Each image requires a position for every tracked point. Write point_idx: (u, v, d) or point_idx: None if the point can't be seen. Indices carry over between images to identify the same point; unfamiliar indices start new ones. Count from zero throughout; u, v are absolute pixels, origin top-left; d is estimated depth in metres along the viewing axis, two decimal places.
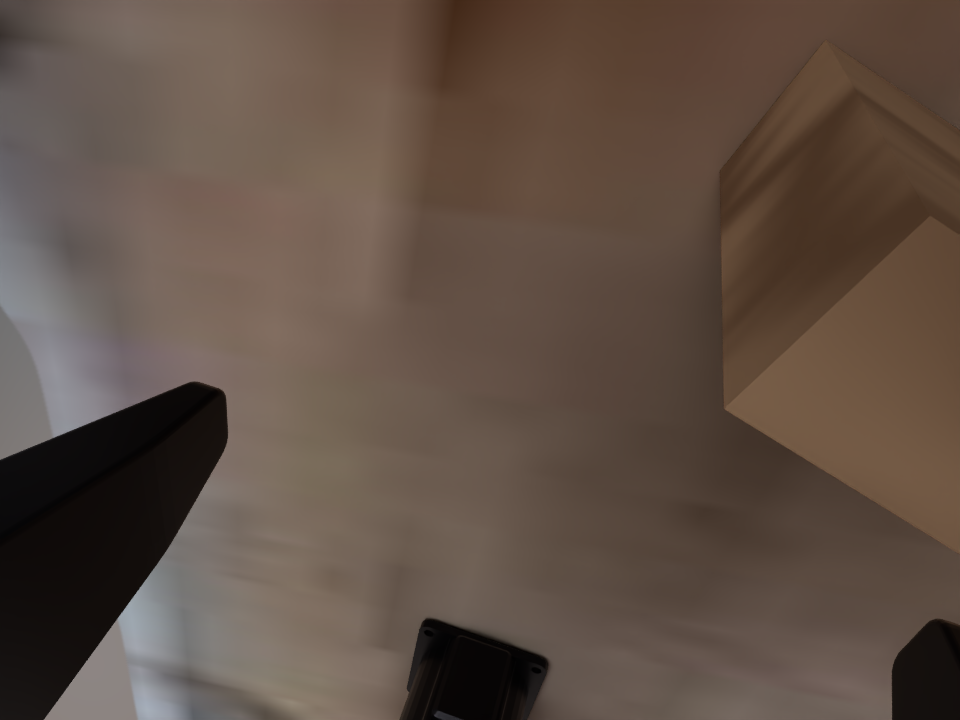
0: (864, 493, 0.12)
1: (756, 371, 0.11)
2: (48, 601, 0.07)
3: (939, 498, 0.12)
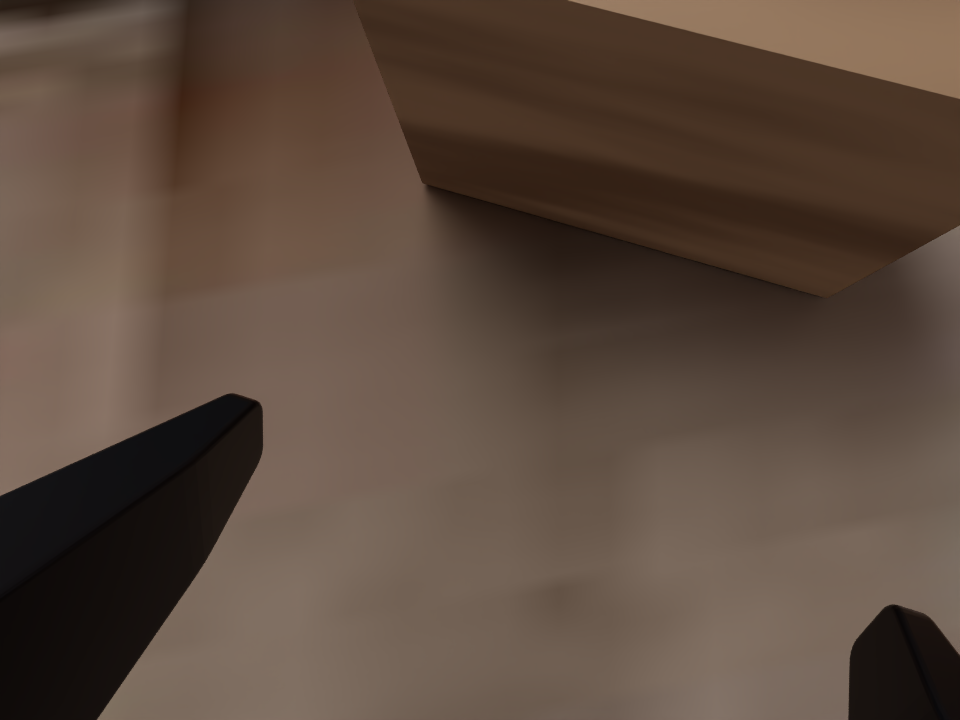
0: None
1: None
2: (94, 618, 0.07)
3: None
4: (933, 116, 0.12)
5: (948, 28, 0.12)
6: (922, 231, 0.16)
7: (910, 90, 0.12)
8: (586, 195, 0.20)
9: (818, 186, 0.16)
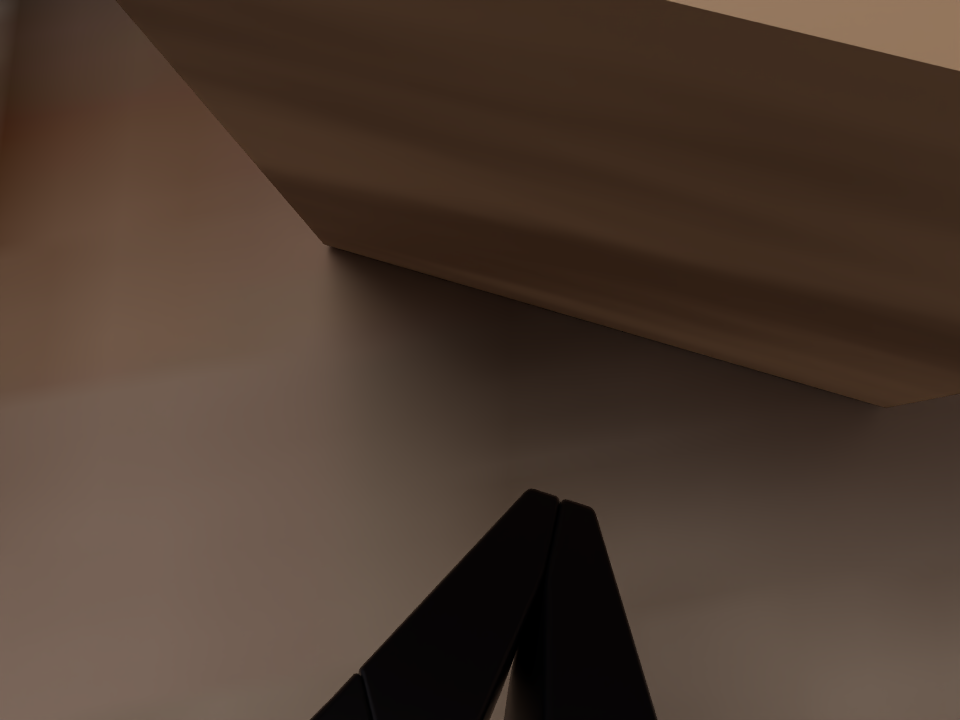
0: None
1: None
2: None
3: None
4: None
5: None
6: None
7: None
8: (541, 272, 0.14)
9: (914, 286, 0.09)
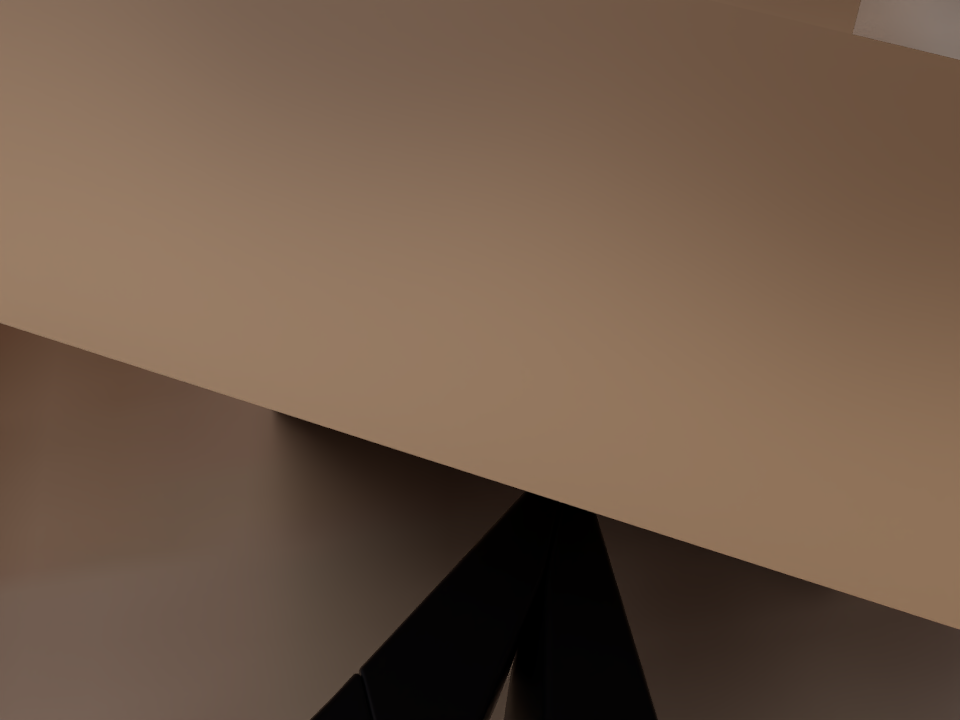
0: (105, 353, 0.05)
1: None
2: None
3: (240, 302, 0.05)
4: None
5: None
6: None
7: None
8: None
9: None
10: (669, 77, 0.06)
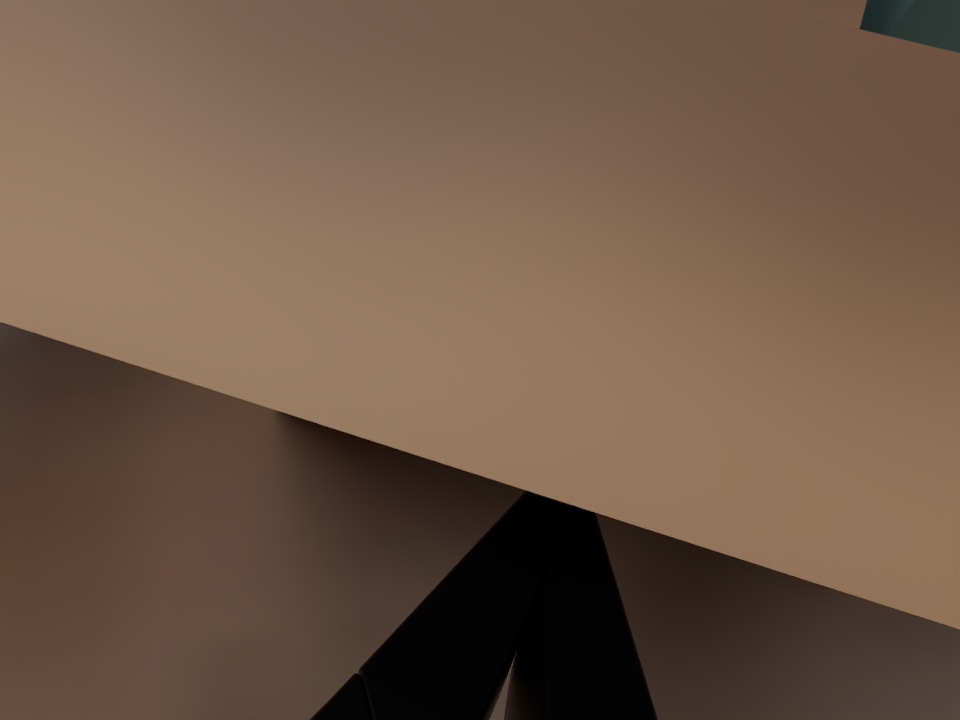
0: (107, 352, 0.05)
1: None
2: None
3: (243, 301, 0.05)
4: None
5: None
6: None
7: None
8: None
9: None
10: (678, 72, 0.05)
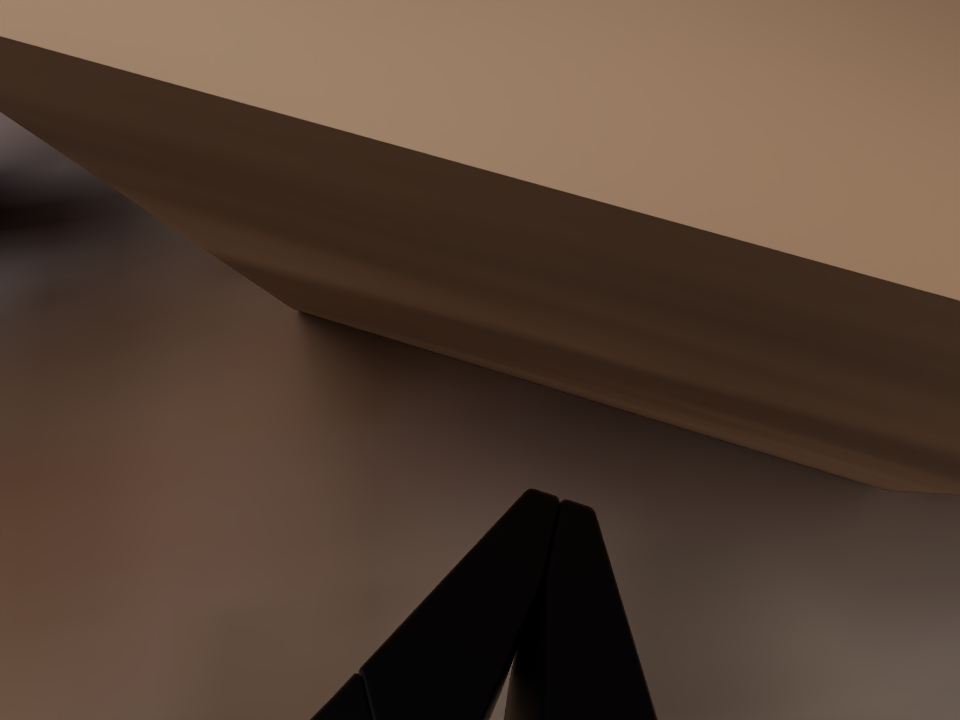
0: (158, 76, 0.05)
1: None
2: None
3: (303, 20, 0.05)
4: None
5: None
6: None
7: None
8: (515, 358, 0.13)
9: (913, 427, 0.08)
10: None
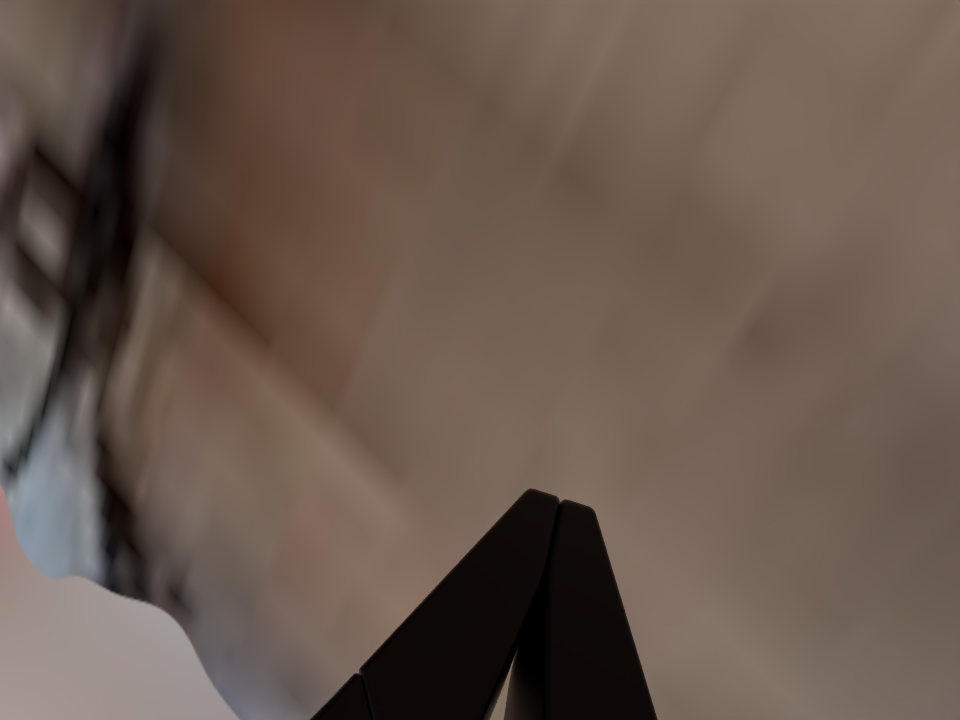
0: None
1: None
2: None
3: None
4: None
5: None
6: None
7: None
8: None
9: None
10: None
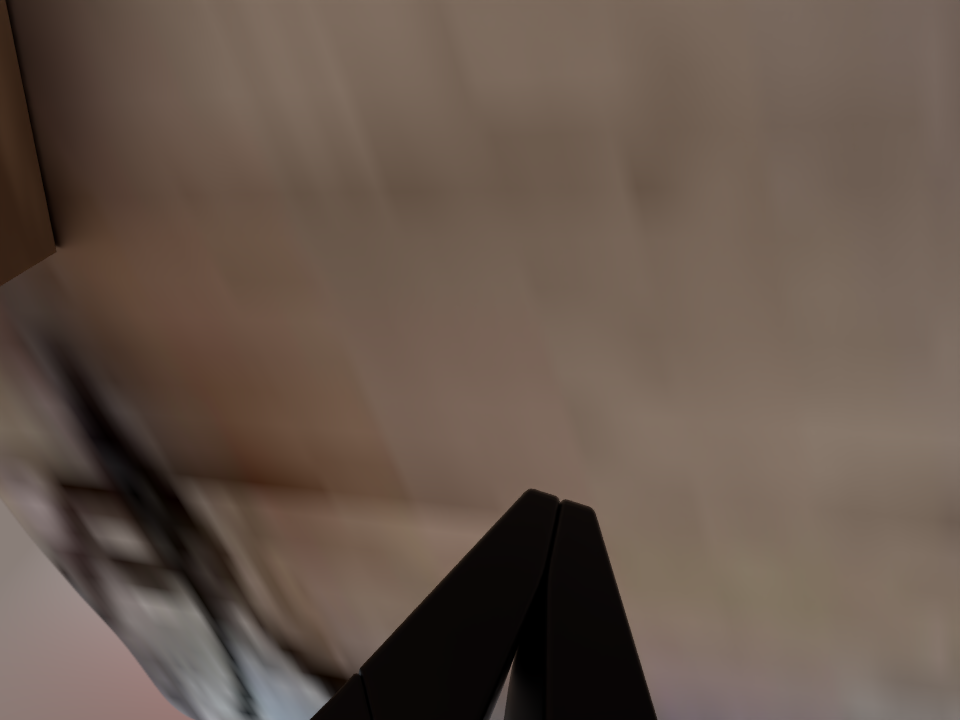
0: None
1: None
2: None
3: None
4: None
5: None
6: None
7: None
8: None
9: None
10: None
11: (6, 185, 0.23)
